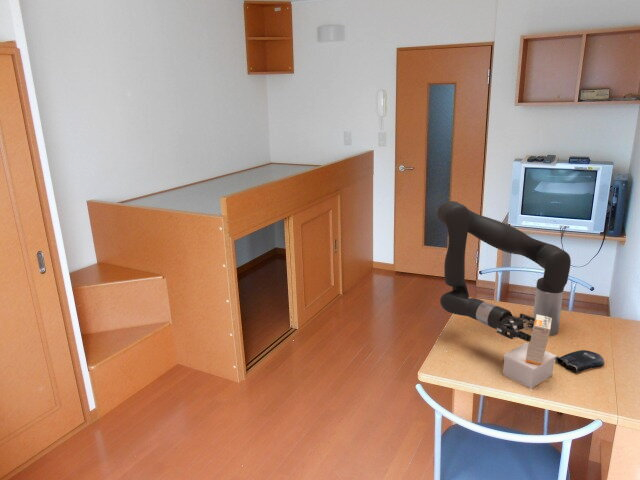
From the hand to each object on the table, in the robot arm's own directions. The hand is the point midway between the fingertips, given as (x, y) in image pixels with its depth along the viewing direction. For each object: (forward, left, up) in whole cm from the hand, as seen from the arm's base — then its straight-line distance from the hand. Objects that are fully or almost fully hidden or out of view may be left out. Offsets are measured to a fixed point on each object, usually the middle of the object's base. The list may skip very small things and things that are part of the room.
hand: (538, 334), depth 154 cm
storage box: (0, -2, -15) cm, 16 cm away
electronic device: (-20, +5, -16) cm, 26 cm away
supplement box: (0, 0, -8) cm, 8 cm away
